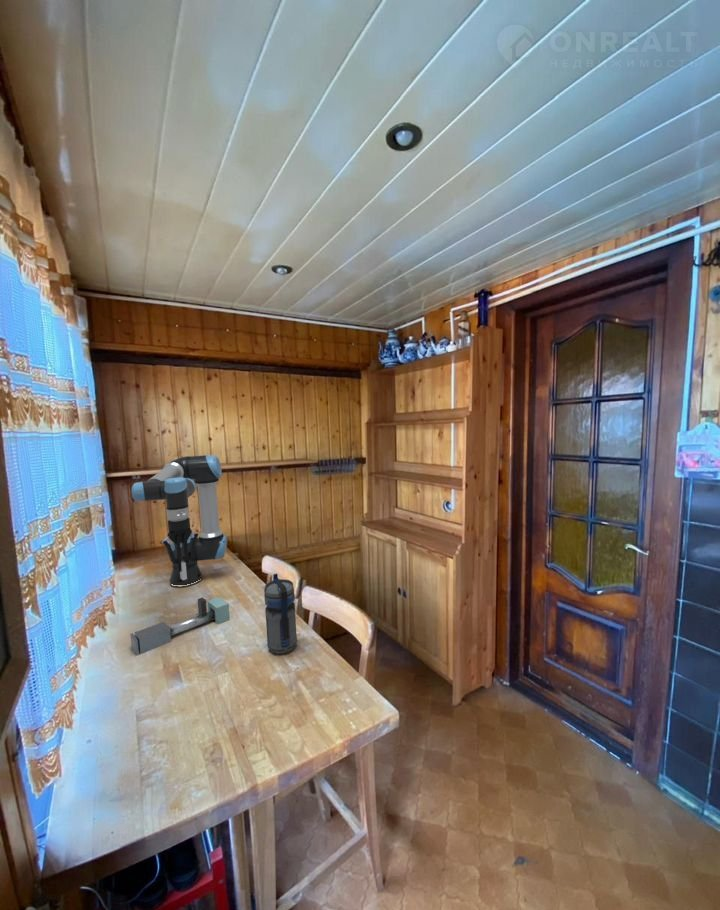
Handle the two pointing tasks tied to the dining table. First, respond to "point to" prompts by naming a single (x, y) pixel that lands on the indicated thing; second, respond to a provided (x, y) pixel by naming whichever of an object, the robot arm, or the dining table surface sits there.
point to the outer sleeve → (150, 638)
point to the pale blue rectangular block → (219, 609)
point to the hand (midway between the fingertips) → (183, 578)
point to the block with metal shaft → (194, 619)
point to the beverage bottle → (280, 615)
